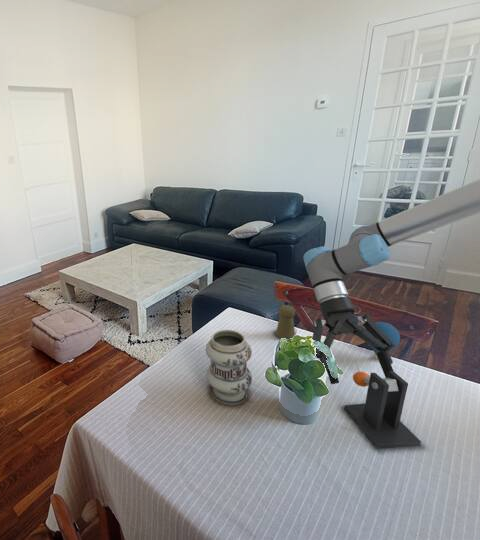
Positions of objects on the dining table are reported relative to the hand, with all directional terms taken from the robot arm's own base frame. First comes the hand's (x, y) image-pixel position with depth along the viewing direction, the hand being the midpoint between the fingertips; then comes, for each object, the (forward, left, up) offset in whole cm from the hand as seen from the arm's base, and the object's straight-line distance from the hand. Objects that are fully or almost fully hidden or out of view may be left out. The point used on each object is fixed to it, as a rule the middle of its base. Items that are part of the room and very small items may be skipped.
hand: (363, 381), depth 84 cm
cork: (+14, -31, -7) cm, 35 cm away
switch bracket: (-2, +7, -7) cm, 10 cm away
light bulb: (-10, -21, -7) cm, 24 cm away
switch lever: (-1, +4, +1) cm, 4 cm away
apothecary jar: (+32, +2, -7) cm, 33 cm away
